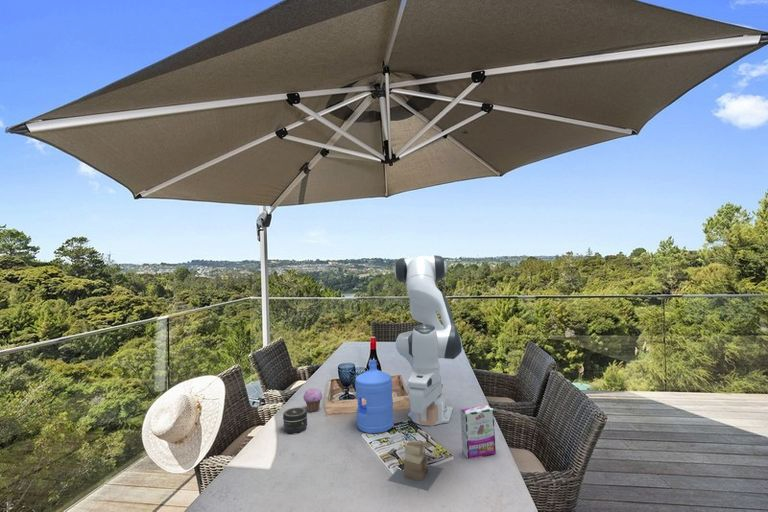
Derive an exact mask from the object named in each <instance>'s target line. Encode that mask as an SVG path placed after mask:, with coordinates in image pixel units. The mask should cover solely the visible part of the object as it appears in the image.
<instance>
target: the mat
mask: <svg viewBox="0 0 768 512" xmlns="http://www.w3.org/2000/svg"><path fill="white" fill-rule="evenodd" d="M428 465H429V466H428V472H427V474H426V475H425V476H424V477H423V479H422V480H421V481H419V480H415V479H411V478H407V477H404V471H403V470H404V469H403V470H402V469H401V470H400V469H398V468H397V469H396V470H395V471H394V472H393V474H392V475H391V476H390V477H389V478H388V479H387V481H388V482H393V483H396V484H400V485H404V486H408V487H411V488H416V489H418V490H419V489H420V490H424V491H426V492H427V491H429V490H430V489H431V487H432V486H433V484H434V483H435V481H436V480H437V478H438V477H439V475H440V474H441V473H442V472H443V470H444V467H439V466H436V465H435V466H434V465H431V464H428Z"/></svg>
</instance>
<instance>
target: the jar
mask: <svg viewBox="0 0 768 512" xmlns="http://www.w3.org/2000/svg"><path fill="white" fill-rule="evenodd" d="M282 420H283V429H284V432H285V433H287V434H289V433H297V434H301V433H303V432H304V431H306V429H307V426H308V411H307V409H306V408H303V407H293V408H288V409H286V410H284V412H283V414H282ZM300 432H301V433H300Z"/></svg>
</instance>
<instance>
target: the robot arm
mask: <svg viewBox="0 0 768 512" xmlns="http://www.w3.org/2000/svg"><path fill="white" fill-rule="evenodd" d="M393 273H394V277H395V279H396V280H397V281H398V282H399V283H404V284H405V283H406V291H407V297H409V310H410V317H411V318H412V319H413V320H415V321H417V322H418V323H421V324H418V325H415V327H413V330H409V331H406V332H401V333H399V334H398V335H397V336H396V337H397V338H396V339H395V347H396V348H395V349H396V352H397V353H398V354H399V355H400V356H401V357H403V358H405V360H407V362H408V363H409V365H410V366H411V369H412V370H411V374H410V377H409V378H408V380H407V387H408V388H409V393H408V394H409V398H408V399H409V407H410V412H408V415H407V416H408V417H409V418H410V419H411V421H412V422H413V423H415V424H417V425H421V426H425V425H424V424H419V418H418V413H420V415H421V420H422V421H426V420H427V419H428V414H427V413H426V411H427V408H428V407H429V406H430V405H431V404H433V405H438V421H437V422H436V423H435V424H434V426H436V425H441V424H448V423H449V422H450V420H451V416H452V414H453V410H454V408H453V407H452V406H449V405H448V398H447V397H446V396H445V395H443V387H444V385H443V383H442V376H441V372H440V371H441V369H440V362H439V359H446V360H454V359H456V358H457V357H458V356H459V355H461V353H462V352H463V351H462V350H463V343H462V342H463V340H462V339H461V336H460V333H459V331H458V328H457V326H456V323H455V320H454V316H453V314H452V310H451V308H450V307H451V306H450V304H449V301H448V298H447V296H446V294H445V293H444V292H443V291H440V289H439V288H438V286H437V285H436V284H437V283H438V282H439V281H441V280H443V279H444V278H445V276H446V273H447V263H446V261H445V259H444V258H443V257H442V256H441V255H436V254H435V255H419V256H411V257H406V258H405V257H402V258H399V259H396V261H395V263H394V267H393ZM438 315H439V316H440V319H441V320H440V319H439V317H438Z"/></svg>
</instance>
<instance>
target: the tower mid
mask: <svg viewBox="0 0 768 512" xmlns="http://www.w3.org/2000/svg"><path fill="white" fill-rule="evenodd" d="M425 443H426V442H425V441H421V440H420V441H419V440H415V439H410V440H409V441H408V442H407V443H406V444H405V445H404V457H405V458H404V460H405V461H406V462H411V463H415V464H420V463H421V462H422V461H423V460H424V458H425V456H426V444H425Z"/></svg>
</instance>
